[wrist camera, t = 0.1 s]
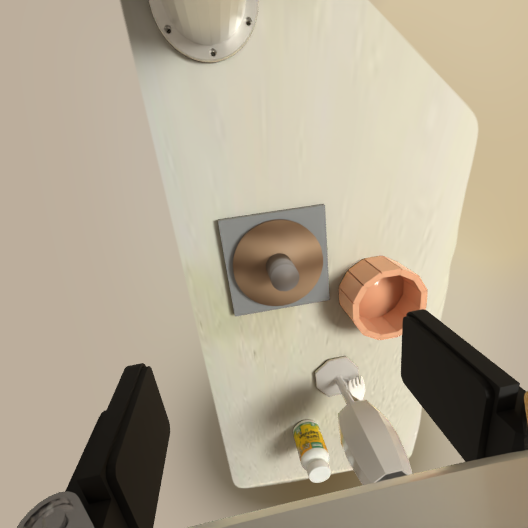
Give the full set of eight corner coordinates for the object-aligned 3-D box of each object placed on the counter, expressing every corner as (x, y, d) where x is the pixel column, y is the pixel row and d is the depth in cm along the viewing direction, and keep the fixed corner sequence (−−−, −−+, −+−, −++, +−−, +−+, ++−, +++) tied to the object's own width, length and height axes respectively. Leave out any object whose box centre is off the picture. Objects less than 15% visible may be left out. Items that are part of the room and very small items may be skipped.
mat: (217, 219, 46) (217, 221, 45) (322, 203, 47) (324, 205, 46) (234, 313, 52) (234, 316, 51) (327, 297, 53) (329, 299, 52)
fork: (362, 439, 67) (366, 447, 65) (343, 373, 58) (347, 381, 56) (377, 433, 67) (381, 441, 65) (360, 367, 58) (364, 374, 57)
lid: (225, 226, 45) (226, 237, 40) (318, 212, 46) (332, 221, 41) (240, 309, 50) (242, 330, 45) (323, 295, 52) (335, 313, 46)
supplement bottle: (294, 441, 64) (306, 489, 55) (290, 422, 62) (302, 468, 53) (320, 434, 64) (336, 481, 55) (316, 415, 62) (333, 460, 53)
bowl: (337, 262, 51) (352, 276, 45) (407, 251, 52) (429, 263, 46) (340, 325, 55) (353, 345, 50) (404, 313, 56) (424, 331, 51)
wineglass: (364, 380, 60) (432, 490, 41) (324, 399, 61) (372, 518, 41) (348, 348, 57) (414, 451, 38) (306, 369, 58) (349, 481, 38)
